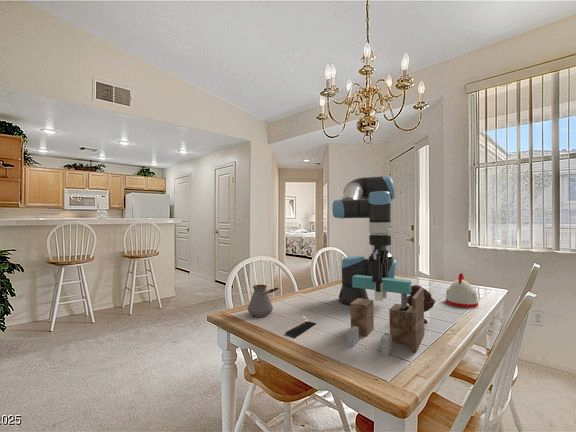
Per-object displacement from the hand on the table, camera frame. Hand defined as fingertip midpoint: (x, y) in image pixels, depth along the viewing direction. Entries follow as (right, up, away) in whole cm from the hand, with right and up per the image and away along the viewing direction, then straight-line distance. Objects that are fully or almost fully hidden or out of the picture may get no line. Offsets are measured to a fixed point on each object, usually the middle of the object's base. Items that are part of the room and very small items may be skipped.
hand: (380, 298), depth 104 cm
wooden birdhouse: (+7, -14, -5) cm, 16 cm away
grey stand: (-6, -14, -10) cm, 18 cm away
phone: (-27, -15, +7) cm, 32 cm away
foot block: (-6, -14, +4) cm, 16 cm away
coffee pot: (-43, -15, +23) cm, 51 cm away
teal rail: (0, -2, 0) cm, 2 cm away
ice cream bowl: (+22, -14, +16) cm, 30 cm away
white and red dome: (+53, -14, +40) cm, 68 cm away
